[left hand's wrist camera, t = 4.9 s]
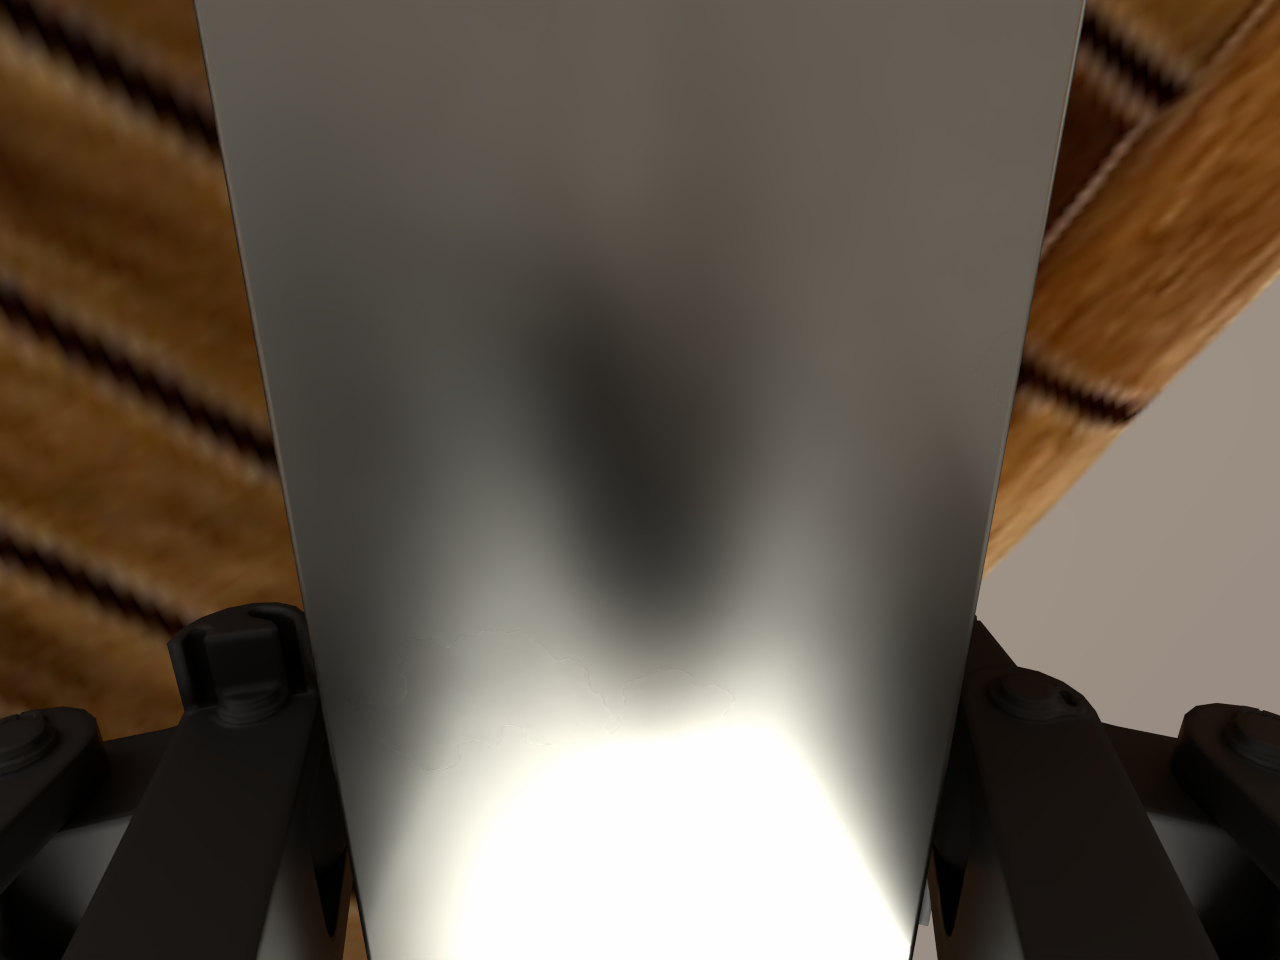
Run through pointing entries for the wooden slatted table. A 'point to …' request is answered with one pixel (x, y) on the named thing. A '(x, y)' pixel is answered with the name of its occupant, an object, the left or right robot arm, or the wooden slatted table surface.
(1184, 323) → the wooden slatted table surface
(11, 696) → the wooden slatted table surface
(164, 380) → the wooden slatted table surface
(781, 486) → the bar
